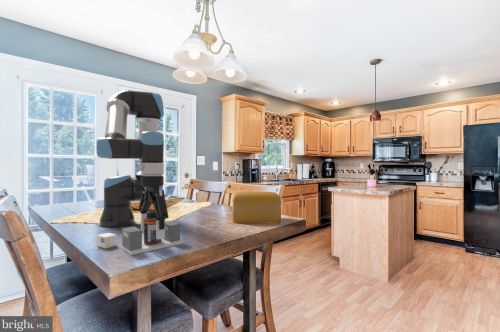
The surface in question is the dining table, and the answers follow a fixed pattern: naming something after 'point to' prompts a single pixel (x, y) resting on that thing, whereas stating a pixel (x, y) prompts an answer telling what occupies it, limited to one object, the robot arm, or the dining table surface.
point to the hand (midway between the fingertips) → (152, 234)
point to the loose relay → (106, 240)
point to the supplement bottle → (150, 228)
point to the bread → (256, 207)
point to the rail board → (135, 244)
